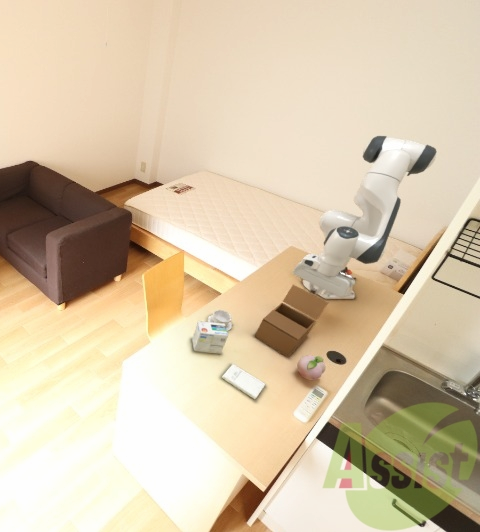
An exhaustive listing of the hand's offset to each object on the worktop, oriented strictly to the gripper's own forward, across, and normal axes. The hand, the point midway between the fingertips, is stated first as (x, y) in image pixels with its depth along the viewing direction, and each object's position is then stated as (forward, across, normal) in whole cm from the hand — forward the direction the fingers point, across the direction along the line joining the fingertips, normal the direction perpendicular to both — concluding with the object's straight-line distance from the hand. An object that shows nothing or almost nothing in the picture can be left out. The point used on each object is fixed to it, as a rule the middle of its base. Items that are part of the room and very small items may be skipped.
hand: (312, 292), depth 147 cm
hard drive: (+16, -2, +50) cm, 52 cm away
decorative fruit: (+16, -15, +28) cm, 36 cm away
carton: (+16, 0, +16) cm, 23 cm away
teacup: (+16, +20, +30) cm, 40 cm away
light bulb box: (+16, +16, +46) cm, 51 cm away
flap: (+1, 0, +7) cm, 7 cm away
